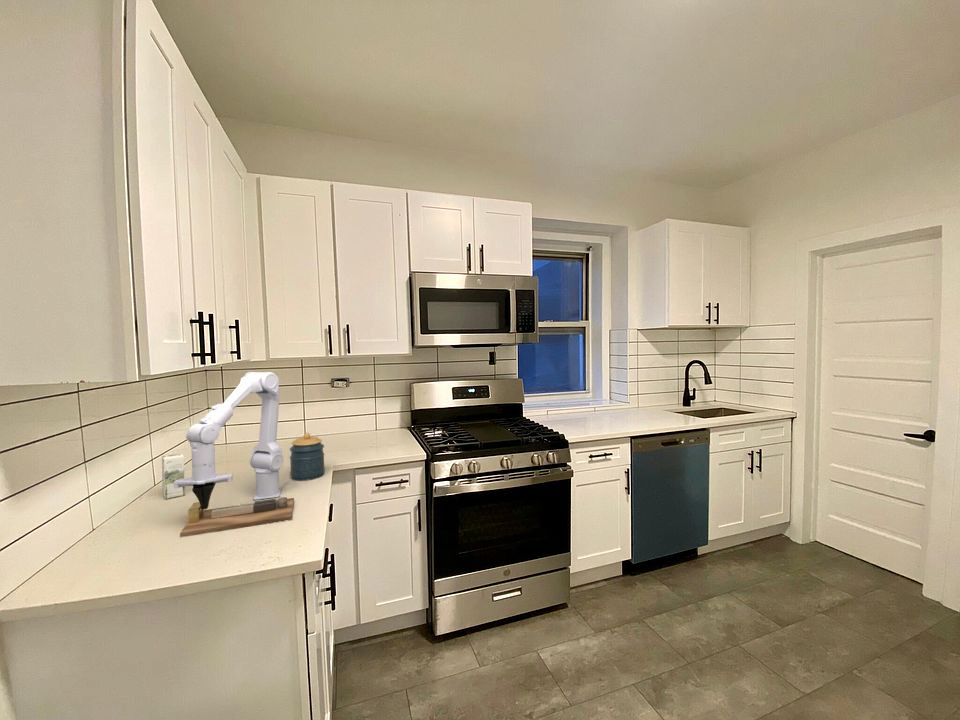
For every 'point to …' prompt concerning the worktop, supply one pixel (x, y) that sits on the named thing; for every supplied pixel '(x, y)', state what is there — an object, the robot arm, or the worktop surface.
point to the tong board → (240, 518)
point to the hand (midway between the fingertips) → (205, 508)
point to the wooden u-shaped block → (195, 512)
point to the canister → (307, 458)
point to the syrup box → (172, 475)
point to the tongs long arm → (243, 509)
